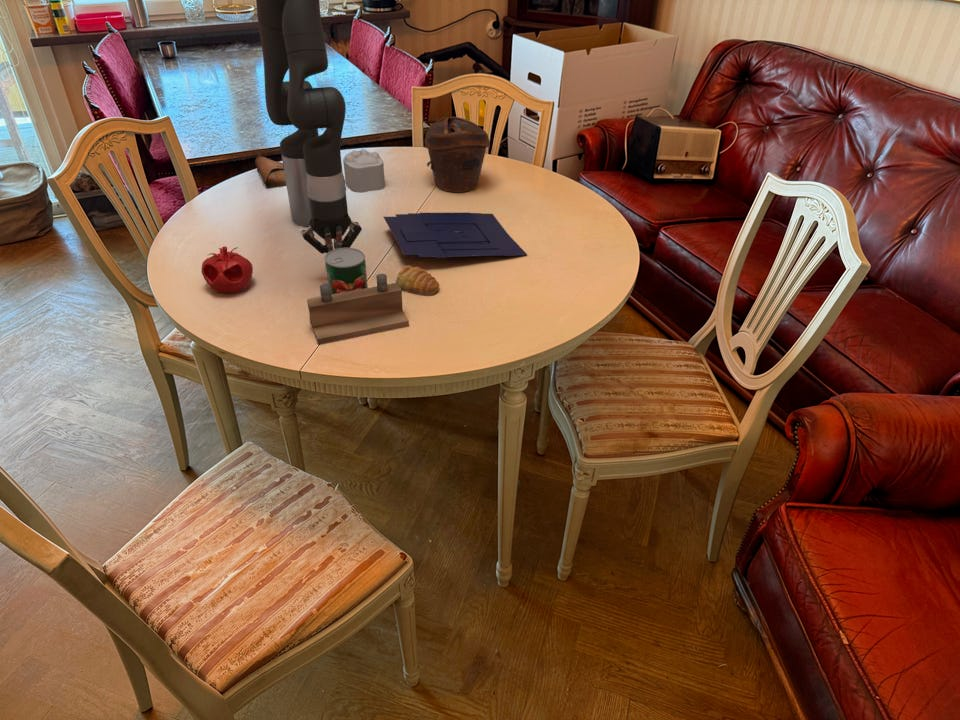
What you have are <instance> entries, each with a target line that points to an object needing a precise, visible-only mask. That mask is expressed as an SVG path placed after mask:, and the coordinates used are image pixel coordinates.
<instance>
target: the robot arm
mask: <svg viewBox="0 0 960 720" xmlns="http://www.w3.org/2000/svg"><path fill="white" fill-rule="evenodd" d="M255 3H256V13H257V23H258V25H257V26H258V31H259V37H260V43H261V44H260V45H261V50H262V51H261V52H262V59H263V71H264V72H263V73H264V95H265V97H264V98H265V106H266V110H267V115H268V118H269V119H270V120H271V122H272V124H273V125H276V126H282V127H283V126H294V127H295V128H296V131H294V132H293V133H291V134H289V135H287V136H285V137H283V138H282V140H280V143H279V149H280V154H281V161H282V163H283V167H284V173H285V179H286V186H285V187H286V191H287V198H288V203H289V210H290V215H291V221H292V222H293V224H295V225H297V226H301V227H307V228H306V229H302V230H301V232H300V233H301V235H302V238H303V239H304V240H305V242H306V243H308V244H309V245H310V246H312V247H313V248H314V249H315V250H316V251H317V252H319V253H320V254H323V255H324V254H327V253H328V252H330V251H332V250H334V249H338V248H352V245H353V244H354V242H355V241H356V239H357V238H358V236H359V235H360V233H361V232H362V229H363V228H362V226H361V225H360V223H359V222H357V221H353V220H352V219H351V217H350V215H349V210H348V201H347V199H348V198H347V185H346V182H345V175H344V173H343V165H342V164H343V163H342V155H341V143H342V134H343V129H344V125H345V124H344V123H345V117H346V106H347V105H346V100H345V97H344V95H343V94H342V93H341V91H340V90H339V89H337V88H336V87H333V86H323V87H322V86H321V87H313V85H312V84H311V83H310V81H308V80H306V79H307V78H309V77H312V76H314V75H318V74H321V73H324V72H325V71H326V70H328V67H329V59H328V54H327V47H326V41H325V37H324V29H323V23H322V17H321V6H320V5H321V4H320V0H255ZM287 72H288V80H287V81H284V79H285V77H286V74H287ZM319 129H324V132H323V133H322V134H320V135H319ZM347 230H348V231H347ZM314 232H315V234H317V235H318V236H319V237H320V238H321V239H322V240H323V241H324V244H323V243H322V242H320V241H319V240H318V239H317V238H316V237H315V234H314ZM346 232H347V233H346ZM345 234H346V235H345ZM343 237H344V238H343Z"/></svg>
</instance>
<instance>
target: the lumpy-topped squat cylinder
mask: <svg viewBox="0 0 960 720" xmlns="http://www.w3.org/2000/svg"><path fill="white" fill-rule="evenodd" d="M342 161H343V163H342V164H343V170H344V173H343V174H344V180H345V186H346V188H348V189H349V190H350V191H352V192H354V193H367V192H372V191H381V190H383V189H384V188H385V187H386V183H385V180H386V179H385V168H384V166H385V165H384V160H383V158H382V157H381V156H380V154H379V153H378V152H377V151H372V152H371V151H368V150H367V149H364V148H363V149H360V150H354V149H353V150H352V151H350V152H349V153H346V154H345V155H344V157H343V160H342Z"/></svg>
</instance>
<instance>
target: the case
mask: <svg viewBox="0 0 960 720" xmlns="http://www.w3.org/2000/svg"><path fill="white" fill-rule="evenodd" d="M490 144H491V143H490V138H489V134H488V133H487V131H485V130H484V129H482V127H481V126H479V125H478V124H476V123H474V122H473V121H470V120H468V119H465V118H463V117H459V116H446V117H442V118H440V119H437V120H436V121H435V122H433V123H431V125H430V126H429V128H428V129H427V132H426V134H425V138H424V146H425V149H427V150H428V151H427V152H428V155H429V161H427V163H426V166H427V167H428V168H429V166H430V170H431V171H432V174H433V180H434V184H435V185H436V186H437V187H438V189H440V190H443V191H446V192H451V193H461V192H468V191H472V190H474V189H475V188H476V187H478V185H479V180H480V176H481V172H482V168H483V165H484V159H485V155H486V151H487V148H488V149H490V146H491V145H490Z"/></svg>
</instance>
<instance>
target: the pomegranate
mask: <svg viewBox="0 0 960 720" xmlns="http://www.w3.org/2000/svg"><path fill="white" fill-rule="evenodd" d="M238 247H239V246H237V247H234V248H233V249H232V250H230V251H229V250H228V247H227V246H222V247H218V249H219V253H214V252H212V253H209V254H208V256H210V255H211V256H210V257H207V258H206V259H204V260H203V261H202V263H201V271H200V272H201V274H202V277H203V279H204V280H205V282H206V283H207V286H209V288H210V289H211V290H212V291H215V292H216V293H220V294H221V293H222V294H234V293H239V292H241V291H244V290H245V289H247V288H248V287H249V286H250V284H251V283H250V282H251V280H252V279H253V273H254V272H253V271H254V267H253V263H252V262H251V261H250V260H249V259H248V258H246V257H244V256H243V255H241V254H239V253H237V252H234V250H236V249H237V248H238Z"/></svg>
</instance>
